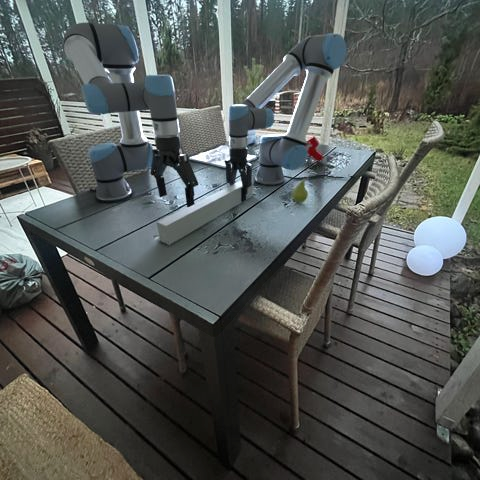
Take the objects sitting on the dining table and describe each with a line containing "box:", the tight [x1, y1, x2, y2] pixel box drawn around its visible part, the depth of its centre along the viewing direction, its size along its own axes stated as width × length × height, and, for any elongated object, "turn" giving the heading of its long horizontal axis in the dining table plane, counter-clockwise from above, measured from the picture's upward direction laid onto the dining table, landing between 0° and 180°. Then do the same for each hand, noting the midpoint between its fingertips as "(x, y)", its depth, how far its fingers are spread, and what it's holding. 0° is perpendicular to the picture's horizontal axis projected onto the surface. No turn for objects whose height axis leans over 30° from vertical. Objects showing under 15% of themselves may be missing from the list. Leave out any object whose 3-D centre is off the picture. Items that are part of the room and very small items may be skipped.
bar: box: [156, 179, 254, 246], centre depth 110 cm, size 51×5×8 cm, turn 144°
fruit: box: [291, 174, 311, 204], centre depth 118 cm, size 7×8×12 cm
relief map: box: [188, 144, 258, 169], centre depth 177 cm, size 27×35×5 cm
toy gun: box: [306, 135, 324, 163], centre depth 171 cm, size 18×4×15 cm
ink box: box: [248, 130, 256, 145], centre depth 212 cm, size 8×5×12 cm, turn 135°
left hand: (176, 200), depth 92 cm, fingers open, 13 cm apart
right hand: (238, 199), depth 123 cm, fingers closed on bar, 5 cm apart
